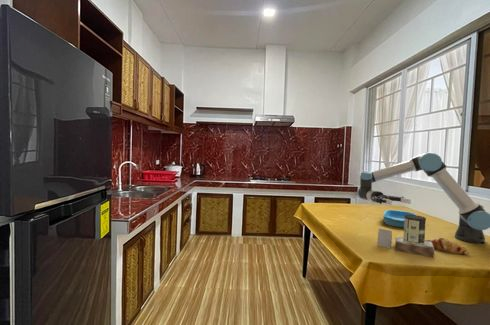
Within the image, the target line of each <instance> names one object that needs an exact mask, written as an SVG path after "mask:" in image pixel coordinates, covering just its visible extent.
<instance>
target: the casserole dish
mask: <svg viewBox="0 0 490 325" xmlns="http://www.w3.org/2000/svg"><path fill="white" fill-rule="evenodd" d="M404 215H417V214H416V213H414V212H410V211H405V210H397V209H387V210H385V211H384V213H383V214H382V217H383V220H384V223H385V224H386V225H388V226H390V227H391V226H392V227H398V228H403V229H404Z"/></svg>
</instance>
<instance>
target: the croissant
mask: <svg viewBox="0 0 490 325" xmlns="http://www.w3.org/2000/svg"><path fill="white" fill-rule="evenodd" d="M425 241H429V242H432V244H433V247H434V250H436V251H440V252H441V251H442V252H445V253H452V254H459V255H460V254H462V255H469V254H470V250H468V249H466V248H465V247H464V246H461V245H460V244H458V243H457V242H453V241H451V240H449V239H447V238H445V237H439V239H436V238H435V239H431V240H430V239H427V240H425Z"/></svg>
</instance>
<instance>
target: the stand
mask: <svg viewBox="0 0 490 325" xmlns="http://www.w3.org/2000/svg"><path fill="white" fill-rule="evenodd" d="M403 239H404V236H403V237H402V236H396V237H395V239H394V240H395V243H394V244H395V245H394V250H395V251H397V252H403V253H408V254H414V255H419V256H425V257H430V258H434V257H435V249H434V247H433V244H432V242H429V241H427V240H426V241H424V242H425V243H424V244H412V243H408V242H406V241H404V240H403Z"/></svg>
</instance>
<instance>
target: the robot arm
mask: <svg viewBox="0 0 490 325" xmlns="http://www.w3.org/2000/svg"><path fill="white" fill-rule="evenodd" d="M418 171H423V172H424V173H425V175H426V176H427V177H429V178H432V179H433V180H434V181H435V182H436V184H437V185H438V187H440V188H441V190H442V191H443V192H444V193H445V194H446V195H447V196H448V198H449V199H450V201H452V202H453V204H454V205H455V206H456V207H457V208H458V214H459V216H458V226H457V229H456V231H455V233H454V238H456V239H457V238H458V240H461V241H463V240H464V242H469V243H474V242H476V243H477V244H482V243H481V242H485V243H486V237H485V234H484V231H485V230H488V229H490V213H489V212H487V211H486V210H485V208H484V206H483V205H481V204H480V203H479V202H475V201H474V200H473V199H472V198H471V197H470V195H469V194H468V193H467V192H466V191H465V190H464V189H463V188H462V187H461V185H460V184H459V183H458V182H457V181H456V180H455V179H454V177H453V176H452V175H451V174H450V173H449V172H448V170H447V165H446V164H445V162H443V160H442V157H441V156H440V155H438V154H437V153H435V152H430V151H428V152H423V153H421V154H418V155H417V156H414V157H411V158H410V159H409V160H406V161H404V162H400V163H397V164H394V165H391V166H388V167H384V168H381V169H378V170H375V171H372V172H368V171H362V172H360V177H359V178H360V180H359V181H360V182H359V183H360V186H359V187H360V188H358V189H357V191H356V195H357V197H358V198H359V199H362V200H365V201H370V202H371V203H373V202H374V203H377V204H380V205H382V204H386V205H390V206H391V205H392V204H393V203H392V202H401V203H404V204H408V205H411V202H412V200H411V199H410V198H405V197H404V196H394V195H387V194H384V193H383V192H382V191H379V190H373V187H372V186H373V183H376V182H378V181H383V180H386V179H390V178H393V177H396V176H399V175H403V174H407V173H410V172H418Z"/></svg>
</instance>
